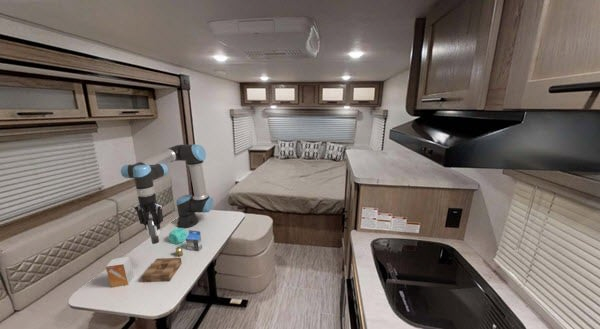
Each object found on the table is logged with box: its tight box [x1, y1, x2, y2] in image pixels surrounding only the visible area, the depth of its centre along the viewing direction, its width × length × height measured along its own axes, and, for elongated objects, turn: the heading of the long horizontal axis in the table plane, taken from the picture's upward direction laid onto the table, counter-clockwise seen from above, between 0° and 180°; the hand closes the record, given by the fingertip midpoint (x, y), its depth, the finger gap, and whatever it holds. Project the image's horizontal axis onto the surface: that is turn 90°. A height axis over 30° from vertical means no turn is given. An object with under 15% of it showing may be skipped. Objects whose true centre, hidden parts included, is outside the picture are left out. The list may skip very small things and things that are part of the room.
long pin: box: [147, 217, 160, 245], centre depth 120 cm, size 3×3×14 cm
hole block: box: [141, 257, 183, 283], centre depth 125 cm, size 14×14×4 cm
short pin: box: [175, 246, 184, 258], centre depth 139 cm, size 3×3×5 cm
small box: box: [105, 256, 135, 288], centre depth 117 cm, size 8×6×13 cm
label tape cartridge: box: [185, 229, 203, 252], centre depth 145 cm, size 9×4×12 cm, turn 79°
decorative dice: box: [168, 227, 188, 245], centre depth 154 cm, size 8×8×8 cm
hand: (154, 234), depth 121 cm, fingers closed on long pin, 3 cm apart
